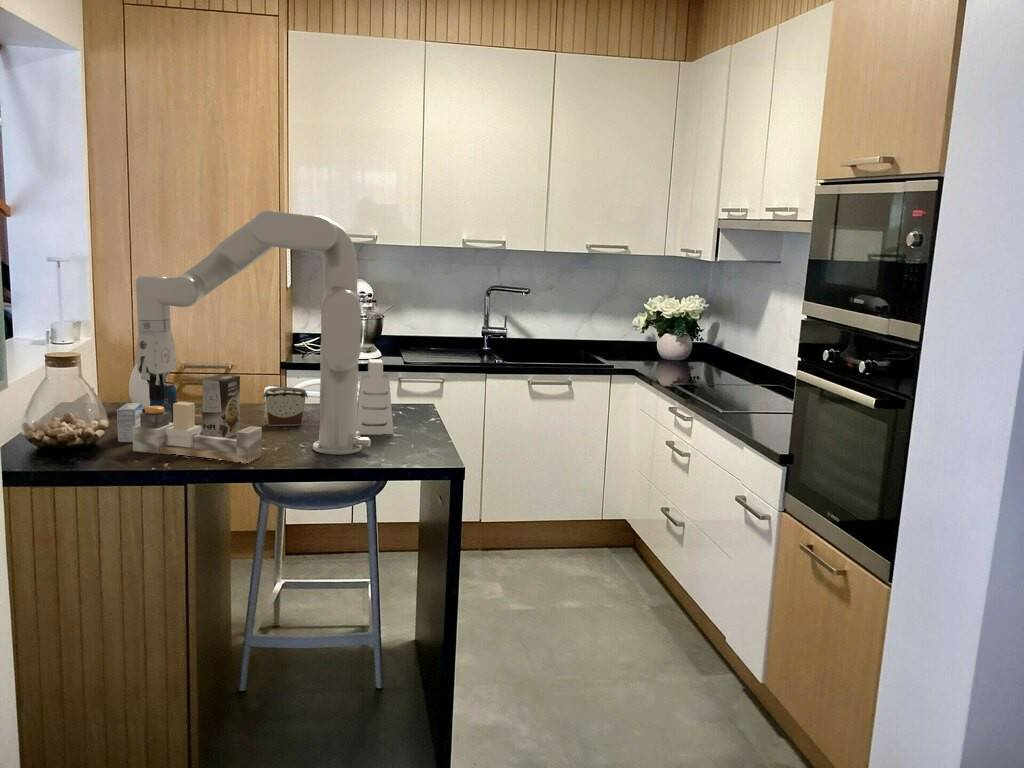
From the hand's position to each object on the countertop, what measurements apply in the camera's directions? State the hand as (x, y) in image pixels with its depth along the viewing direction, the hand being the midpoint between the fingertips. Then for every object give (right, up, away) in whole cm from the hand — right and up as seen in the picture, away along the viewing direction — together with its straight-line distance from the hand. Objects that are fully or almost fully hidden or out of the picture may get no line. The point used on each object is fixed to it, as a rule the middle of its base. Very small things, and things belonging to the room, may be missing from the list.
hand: (157, 399), depth 226 cm
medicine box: (-11, -10, +10) cm, 18 cm away
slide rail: (+10, -13, 0) cm, 17 cm away
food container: (+22, -7, +37) cm, 44 cm away
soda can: (-8, -8, +25) cm, 27 cm away
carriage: (+7, -11, 0) cm, 13 cm away
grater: (+48, -9, +35) cm, 60 cm away
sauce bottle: (-21, -4, +43) cm, 48 cm away
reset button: (-1, -6, +1) cm, 6 cm away
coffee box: (+10, -10, +18) cm, 23 cm away
